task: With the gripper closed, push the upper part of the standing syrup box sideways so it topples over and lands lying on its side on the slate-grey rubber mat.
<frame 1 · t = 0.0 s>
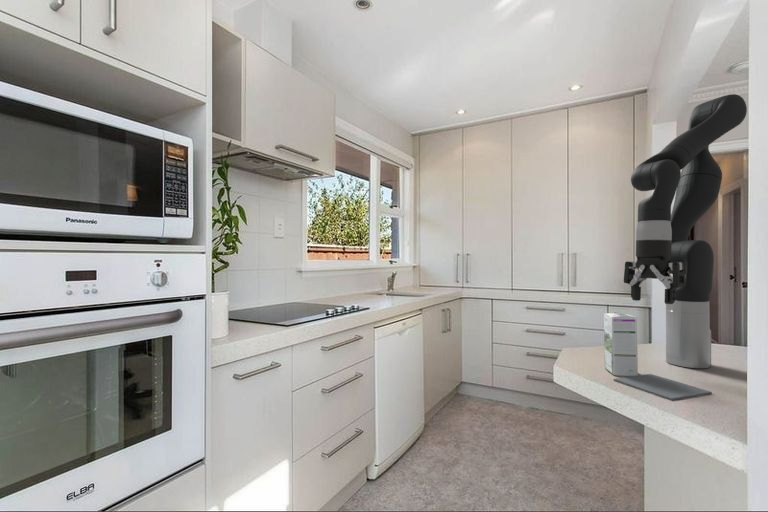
hand: (651, 302, 98), 17 cm above the countertop, tool pointing down, fingers open, 8 cm apart
syrup box: (620, 373, 95), on the countertop
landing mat: (660, 386, 84), on the countertop
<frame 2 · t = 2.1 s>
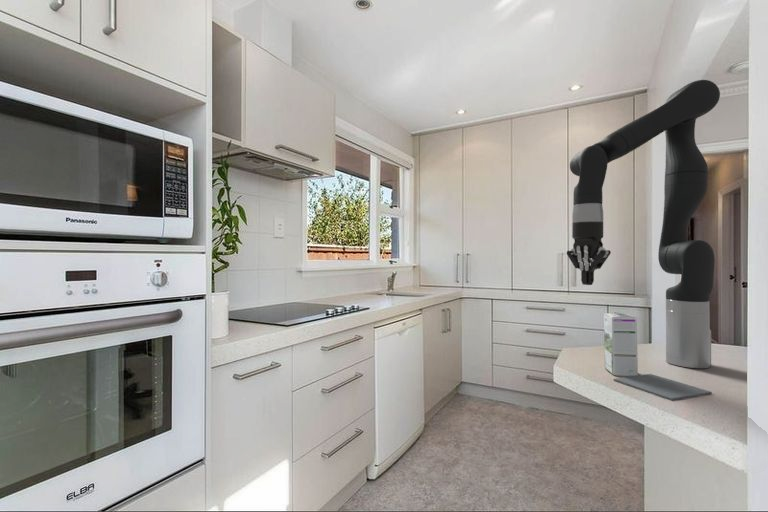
hand: (587, 284, 104), 21 cm above the countertop, tool pointing down, fingers closed
nothing on the countertop moved.
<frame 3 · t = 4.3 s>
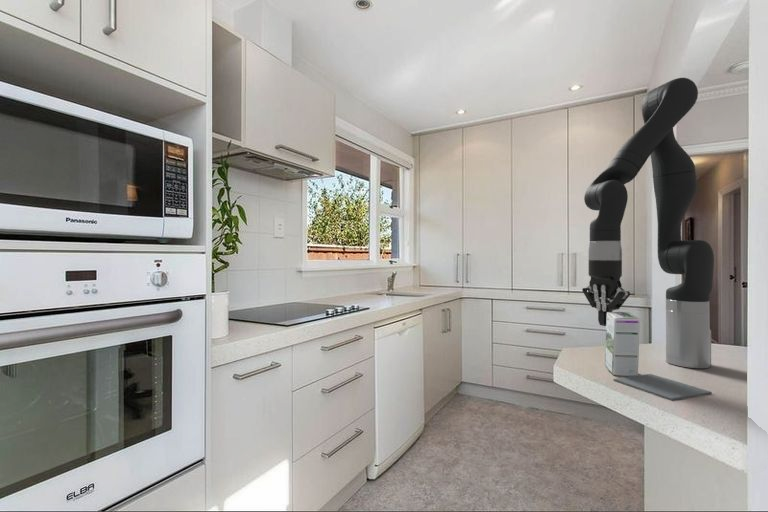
hand: (604, 325, 99), 11 cm above the countertop, tool pointing down, fingers closed
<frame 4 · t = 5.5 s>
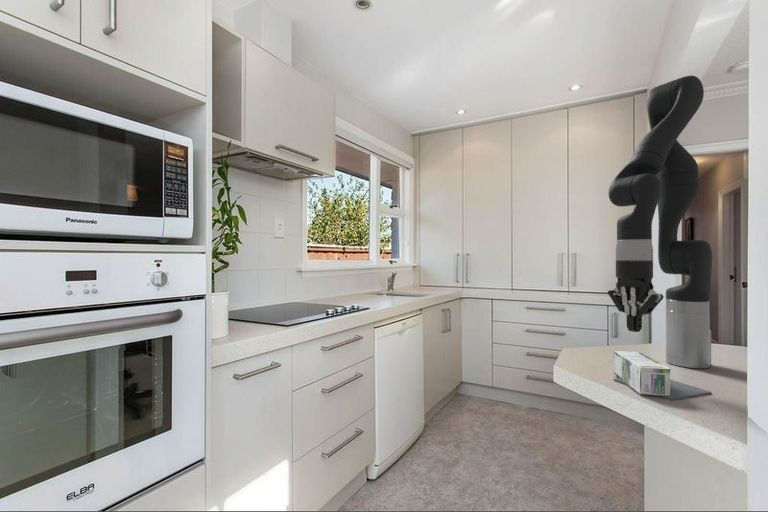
hand: (634, 331, 91), 11 cm above the countertop, tool pointing down, fingers closed
syrup box: (624, 362, 92), point 3 cm above the countertop, touching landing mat
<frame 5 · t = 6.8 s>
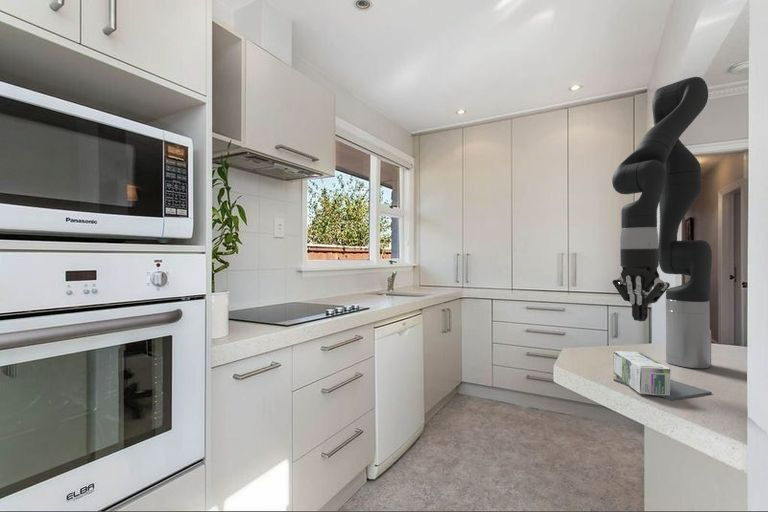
hand: (639, 320, 90), 14 cm above the countertop, tool pointing down, fingers closed
nothing on the countertop moved.
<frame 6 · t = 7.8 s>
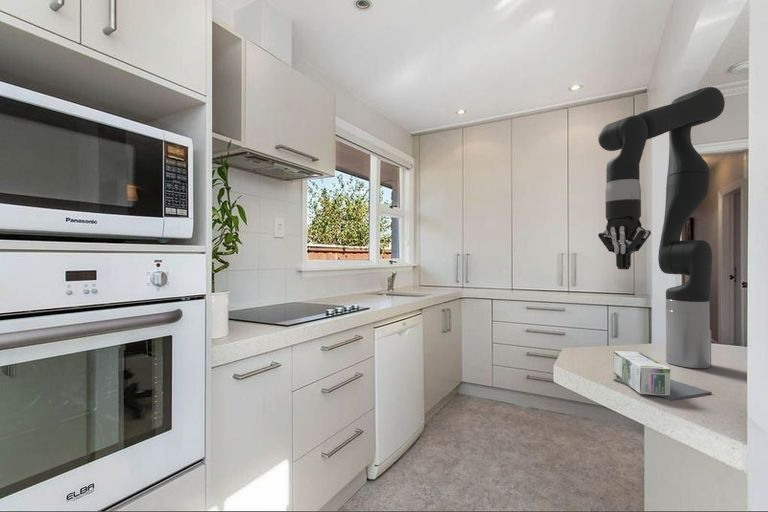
hand: (623, 269, 95), 26 cm above the countertop, tool pointing down, fingers closed
nothing on the countertop moved.
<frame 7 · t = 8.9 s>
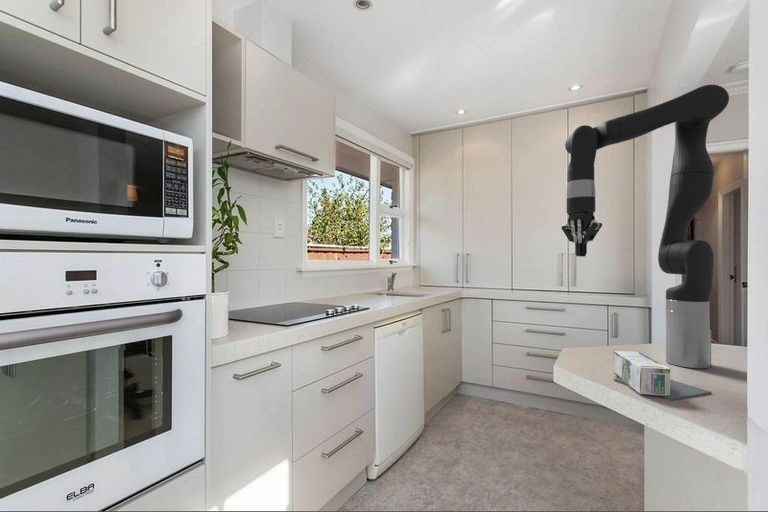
hand: (580, 256, 111), 29 cm above the countertop, tool pointing down, fingers closed
nothing on the countertop moved.
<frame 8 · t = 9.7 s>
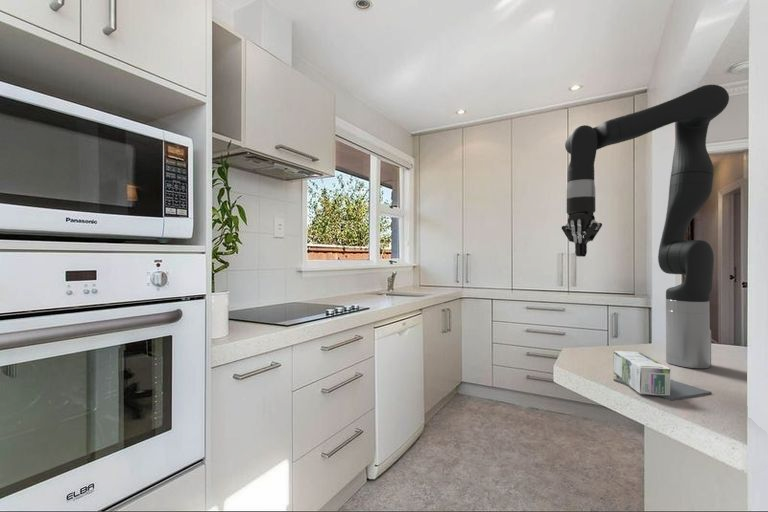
hand: (580, 256, 111), 29 cm above the countertop, tool pointing down, fingers closed
nothing on the countertop moved.
at the end: syrup box tilted 90°; syrup box touching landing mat; syrup box inside the target area (3.5 cm from its centre), point 3.2 cm above the countertop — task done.
